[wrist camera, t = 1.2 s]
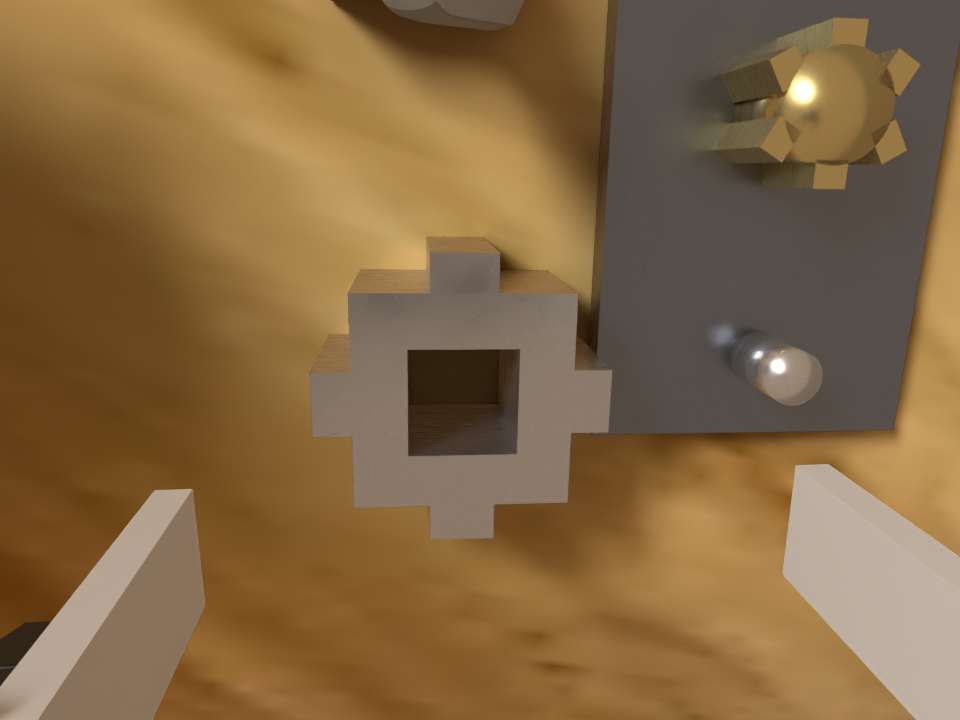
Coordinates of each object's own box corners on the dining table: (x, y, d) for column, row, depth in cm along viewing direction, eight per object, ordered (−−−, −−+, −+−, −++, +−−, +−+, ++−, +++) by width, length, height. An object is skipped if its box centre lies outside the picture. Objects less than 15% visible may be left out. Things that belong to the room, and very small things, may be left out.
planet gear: (333, 477, 33) (317, 543, 27) (324, 235, 30) (304, 251, 24) (568, 472, 34) (601, 534, 28) (580, 238, 31) (620, 254, 25)
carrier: (584, 423, 33) (617, 471, 28) (615, -123, 28) (663, -192, 22) (872, 418, 34) (956, 464, 29) (958, -103, 29) (1081, -165, 24)
